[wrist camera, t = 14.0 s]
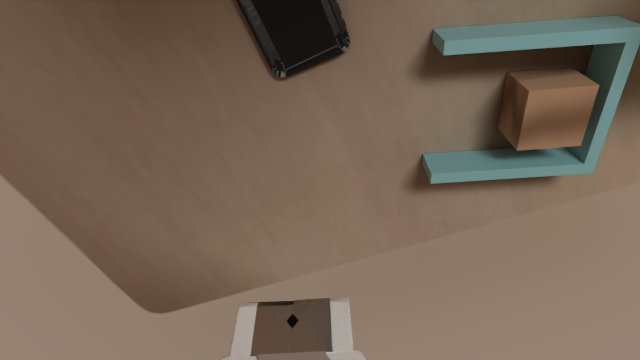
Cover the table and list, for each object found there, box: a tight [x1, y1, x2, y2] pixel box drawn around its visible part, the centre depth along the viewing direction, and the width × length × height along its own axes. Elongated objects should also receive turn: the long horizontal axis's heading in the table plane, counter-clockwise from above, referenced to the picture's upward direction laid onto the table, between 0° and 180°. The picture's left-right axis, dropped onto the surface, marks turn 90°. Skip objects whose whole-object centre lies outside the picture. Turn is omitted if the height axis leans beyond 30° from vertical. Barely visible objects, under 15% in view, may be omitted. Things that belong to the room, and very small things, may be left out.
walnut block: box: [498, 67, 599, 151], centre depth 39 cm, size 6×6×5 cm
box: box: [422, 15, 640, 184], centre depth 40 cm, size 14×16×4 cm
